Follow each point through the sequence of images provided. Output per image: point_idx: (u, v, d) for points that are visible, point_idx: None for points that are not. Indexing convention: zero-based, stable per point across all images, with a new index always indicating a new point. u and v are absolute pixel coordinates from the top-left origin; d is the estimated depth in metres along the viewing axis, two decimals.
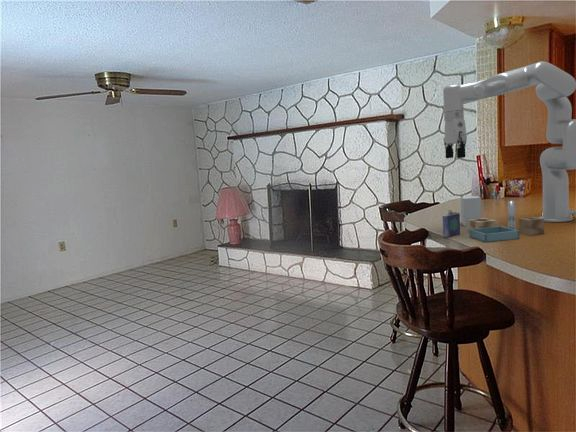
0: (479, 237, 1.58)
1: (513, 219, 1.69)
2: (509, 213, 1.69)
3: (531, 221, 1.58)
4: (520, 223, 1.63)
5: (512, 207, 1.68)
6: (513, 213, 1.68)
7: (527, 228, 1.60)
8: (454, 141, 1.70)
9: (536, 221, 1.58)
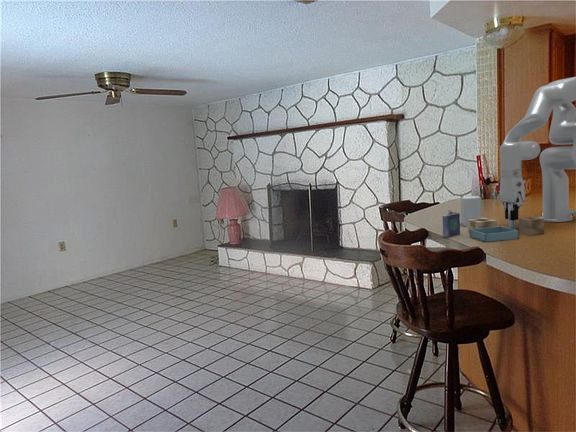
0: (479, 237, 1.58)
1: None
2: (509, 213, 1.69)
3: (531, 221, 1.58)
4: (520, 223, 1.63)
5: None
6: None
7: (527, 228, 1.60)
8: (512, 201, 1.65)
9: (536, 221, 1.58)
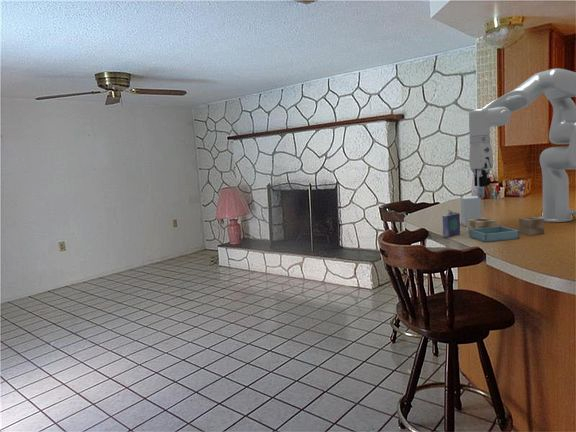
0: (479, 237, 1.58)
1: None
2: (478, 180, 1.69)
3: (531, 221, 1.58)
4: (520, 223, 1.63)
5: None
6: None
7: (527, 228, 1.60)
8: (480, 166, 1.65)
9: (536, 221, 1.58)
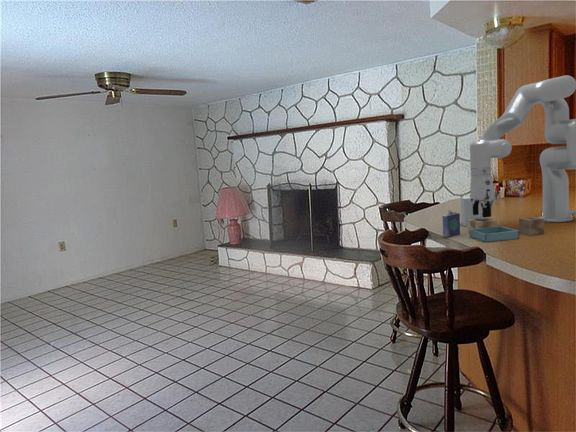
0: (479, 237, 1.58)
1: None
2: (479, 215, 1.71)
3: (531, 221, 1.58)
4: (520, 223, 1.63)
5: (482, 209, 1.70)
6: None
7: (527, 228, 1.60)
8: (481, 198, 1.67)
9: (536, 221, 1.58)
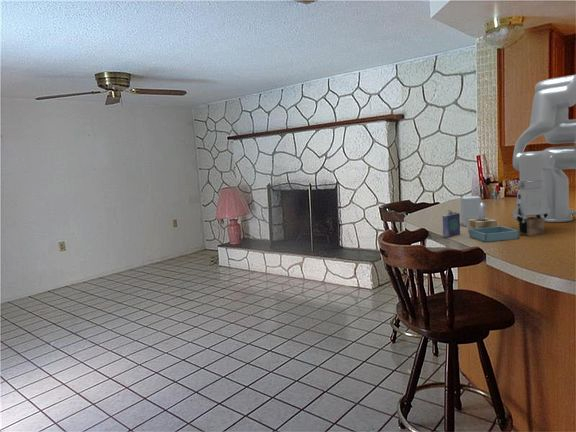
0: (479, 237, 1.58)
1: None
2: (479, 215, 1.71)
3: (531, 221, 1.58)
4: None
5: (482, 209, 1.70)
6: (483, 215, 1.70)
7: (527, 228, 1.60)
8: None
9: (536, 221, 1.58)
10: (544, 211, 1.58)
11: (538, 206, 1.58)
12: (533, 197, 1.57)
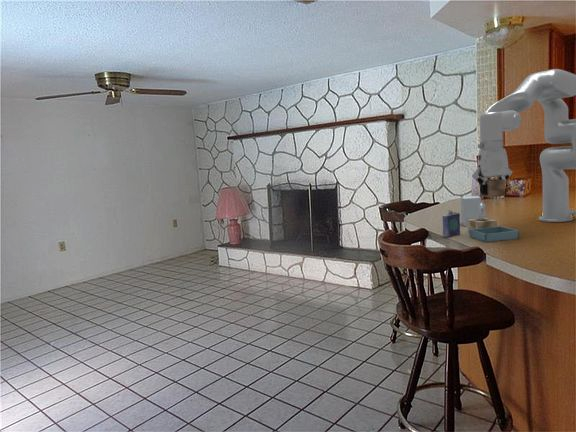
0: (479, 237, 1.58)
1: None
2: (479, 215, 1.71)
3: (491, 182, 1.54)
4: None
5: (482, 209, 1.70)
6: (483, 215, 1.70)
7: (487, 190, 1.56)
8: None
9: (497, 182, 1.55)
10: (505, 172, 1.55)
11: (498, 167, 1.54)
12: (493, 158, 1.54)
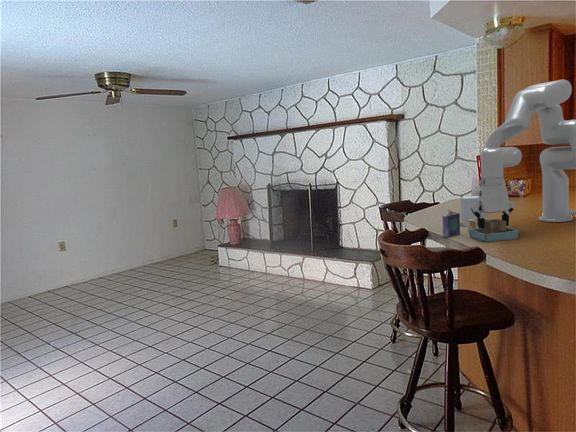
0: (479, 237, 1.58)
1: None
2: None
3: (493, 223, 1.57)
4: None
5: None
6: None
7: (489, 230, 1.58)
8: None
9: (498, 223, 1.57)
10: (505, 208, 1.57)
11: (499, 203, 1.56)
12: (493, 194, 1.55)
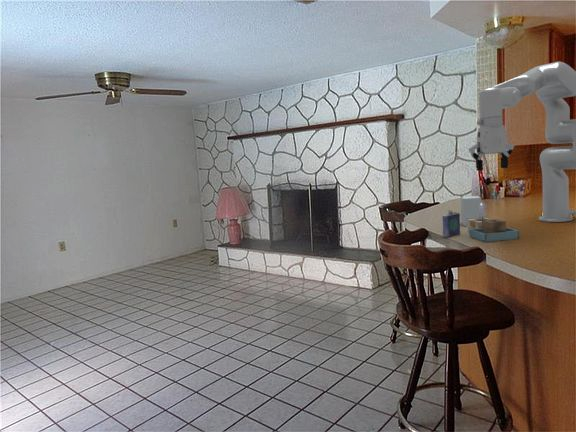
0: (479, 237, 1.58)
1: None
2: (479, 215, 1.71)
3: (493, 223, 1.57)
4: (483, 225, 1.62)
5: (482, 209, 1.70)
6: (483, 215, 1.70)
7: (489, 230, 1.58)
8: None
9: (498, 223, 1.57)
10: (504, 149, 1.54)
11: (498, 143, 1.53)
12: (492, 134, 1.52)
